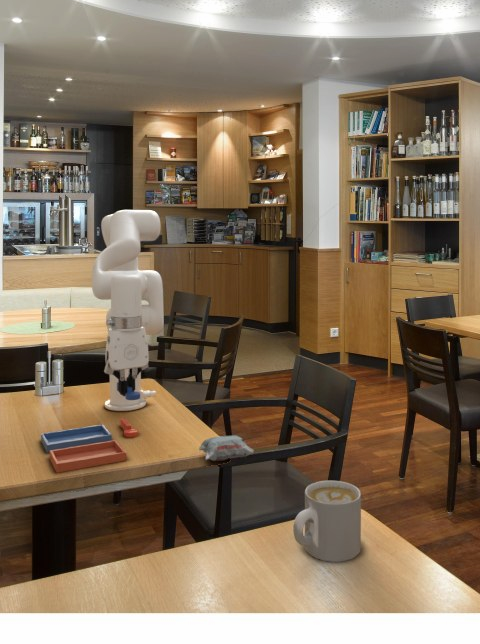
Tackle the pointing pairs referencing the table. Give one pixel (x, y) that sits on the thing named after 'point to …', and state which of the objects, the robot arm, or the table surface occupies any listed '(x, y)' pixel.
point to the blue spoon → (131, 394)
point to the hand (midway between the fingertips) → (126, 394)
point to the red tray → (87, 456)
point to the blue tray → (75, 437)
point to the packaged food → (225, 448)
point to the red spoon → (128, 428)
